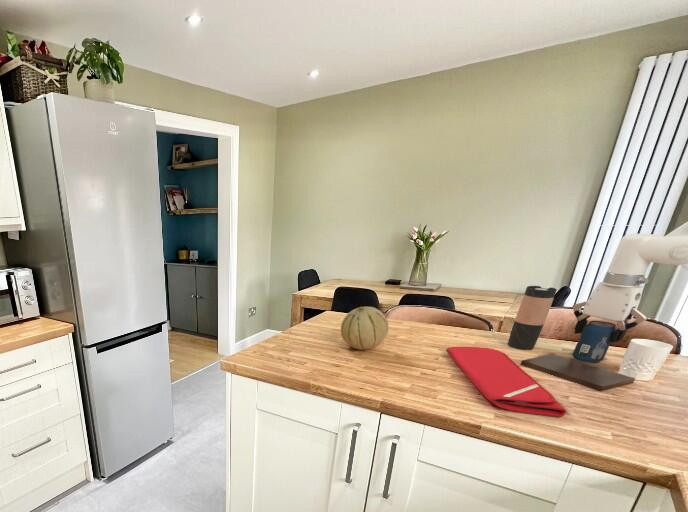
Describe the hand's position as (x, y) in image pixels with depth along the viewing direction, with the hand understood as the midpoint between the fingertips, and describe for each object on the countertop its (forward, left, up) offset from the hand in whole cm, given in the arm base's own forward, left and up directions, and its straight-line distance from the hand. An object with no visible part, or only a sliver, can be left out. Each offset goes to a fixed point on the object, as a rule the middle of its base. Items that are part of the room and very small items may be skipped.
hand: (596, 337), depth 121 cm
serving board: (-5, +15, -8) cm, 18 cm away
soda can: (0, 0, -8) cm, 8 cm away
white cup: (-13, +2, -8) cm, 15 cm away
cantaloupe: (+35, +56, -8) cm, 66 cm away
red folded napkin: (0, +40, -8) cm, 41 cm away
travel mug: (+16, +5, -8) cm, 18 cm away
